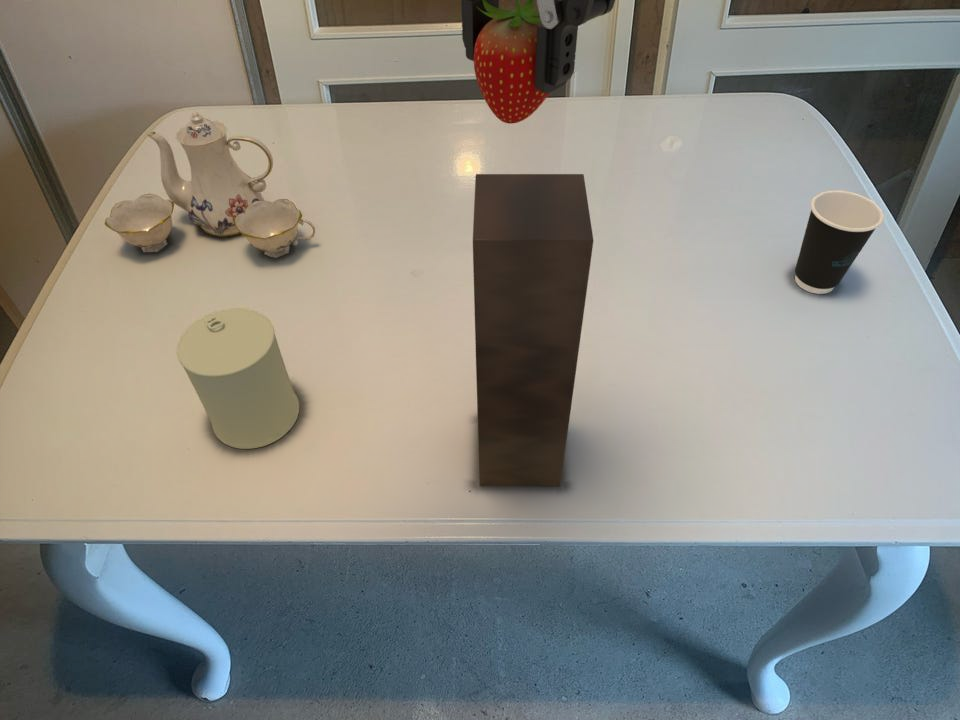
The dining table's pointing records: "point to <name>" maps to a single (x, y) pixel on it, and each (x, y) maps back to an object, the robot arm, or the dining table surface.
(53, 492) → the dining table surface
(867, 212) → the dixie cup
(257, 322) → the can
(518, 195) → the plinth
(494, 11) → the fruit
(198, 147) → the chinaware
